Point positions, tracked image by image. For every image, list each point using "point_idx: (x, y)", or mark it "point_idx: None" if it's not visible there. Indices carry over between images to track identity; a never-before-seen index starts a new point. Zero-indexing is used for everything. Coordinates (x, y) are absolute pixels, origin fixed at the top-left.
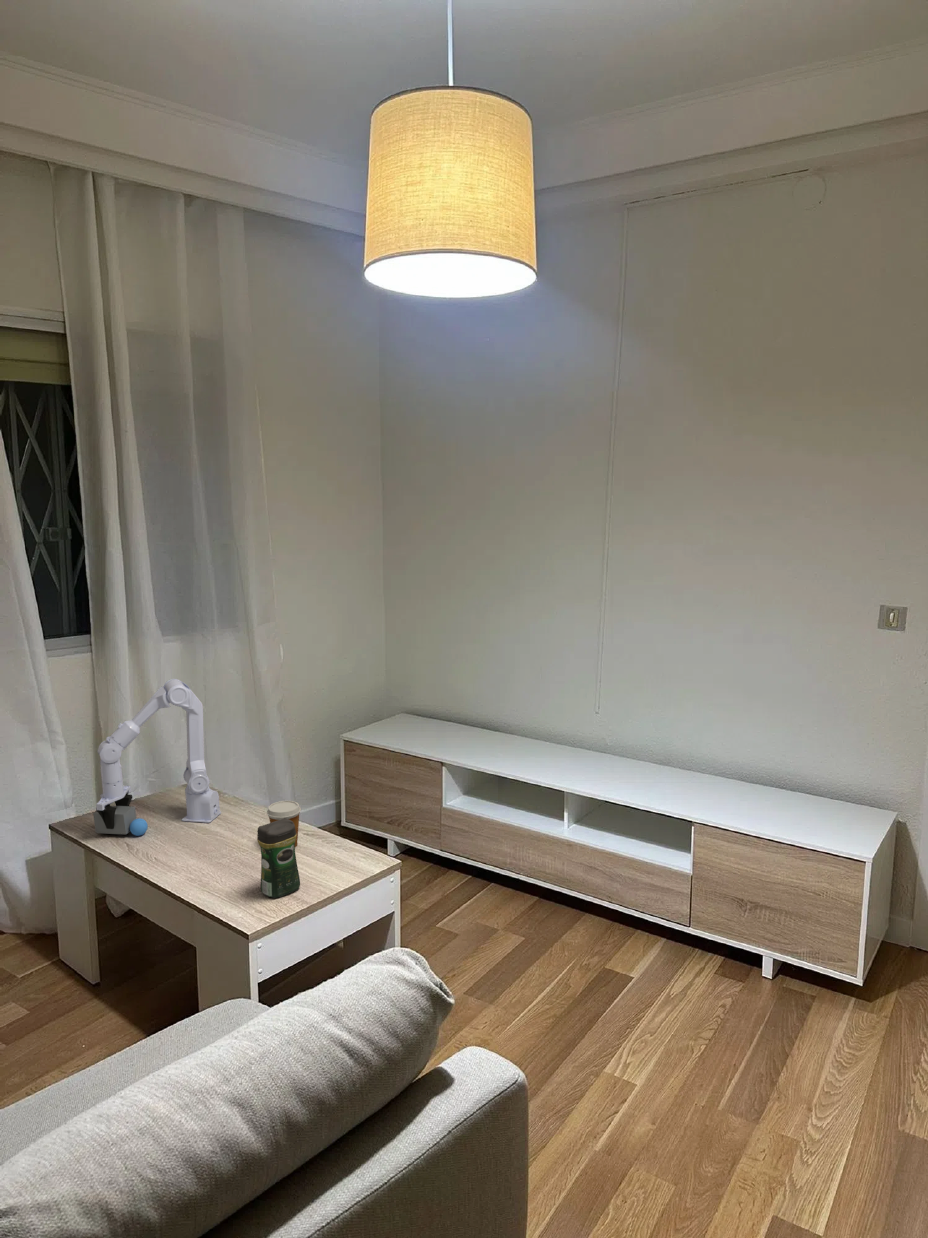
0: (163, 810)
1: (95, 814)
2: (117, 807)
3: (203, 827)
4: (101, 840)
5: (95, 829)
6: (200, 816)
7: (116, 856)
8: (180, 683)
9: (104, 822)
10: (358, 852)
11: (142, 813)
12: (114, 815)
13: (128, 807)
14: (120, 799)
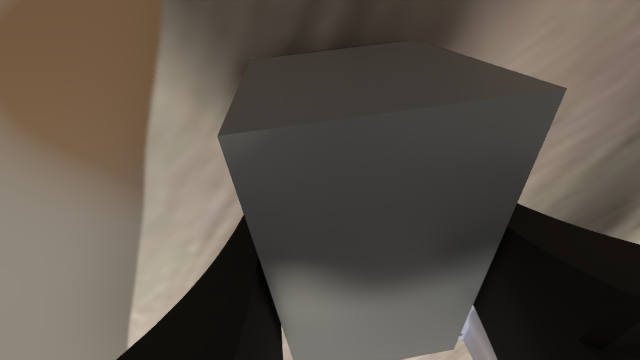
0: (619, 176)
1: (234, 162)
2: (448, 276)
3: None
4: (218, 140)
5: (248, 68)
6: (476, 337)
7: (134, 299)
8: None
9: (240, 226)
10: None
11: (621, 101)
12: (281, 334)
13: (439, 334)
14: (551, 350)
